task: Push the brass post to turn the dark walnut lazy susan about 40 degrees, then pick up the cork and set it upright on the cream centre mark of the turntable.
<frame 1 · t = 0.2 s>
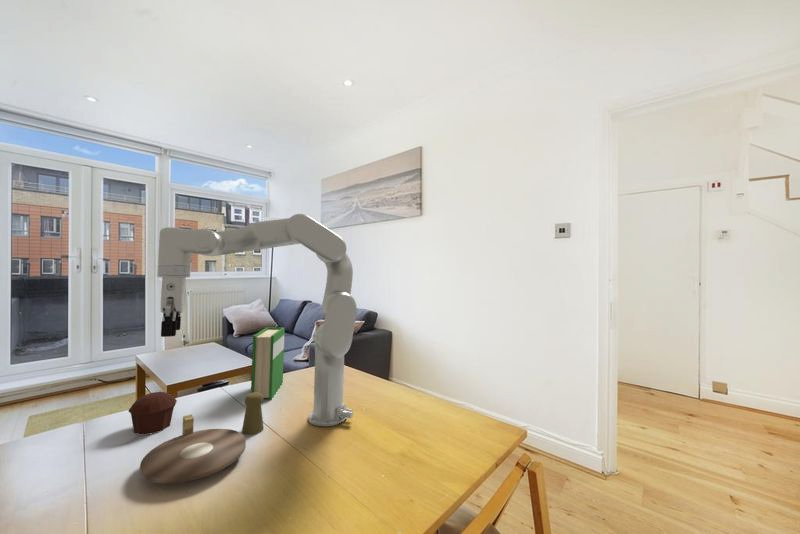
hand: (171, 333, 89), 30 cm above the table, tool pointing down, fingers open, 9 cm apart
hardback book: (267, 392, 127), on the table
muffin: (152, 428, 96), on the table
cork: (252, 430, 96), on the table
turntable: (195, 443, 80), point 5 cm above the table, hinge at 0.0°
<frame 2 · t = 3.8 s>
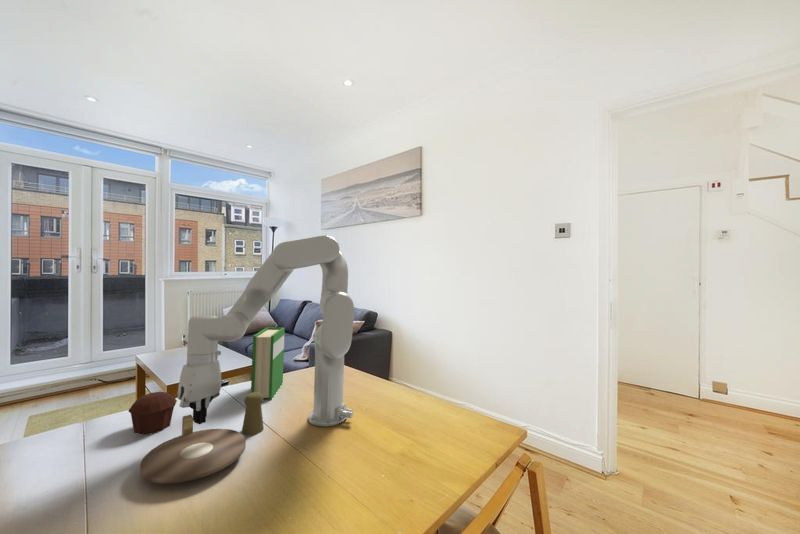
hand: (199, 422, 92), 4 cm above the table, tool pointing down, fingers closed
turntable: (195, 443, 80), point 5 cm above the table, hinge at 0.6°, touching gripper
everything else where it was.
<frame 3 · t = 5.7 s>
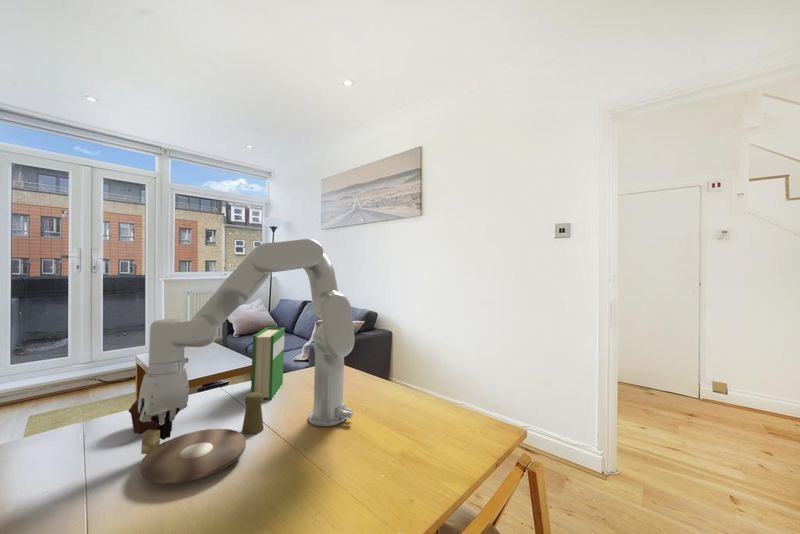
hand: (163, 437, 83), 4 cm above the table, tool pointing down, fingers closed
turntable: (194, 444, 79), point 5 cm above the table, hinge at 44.8°, touching gripper
everything else where it was.
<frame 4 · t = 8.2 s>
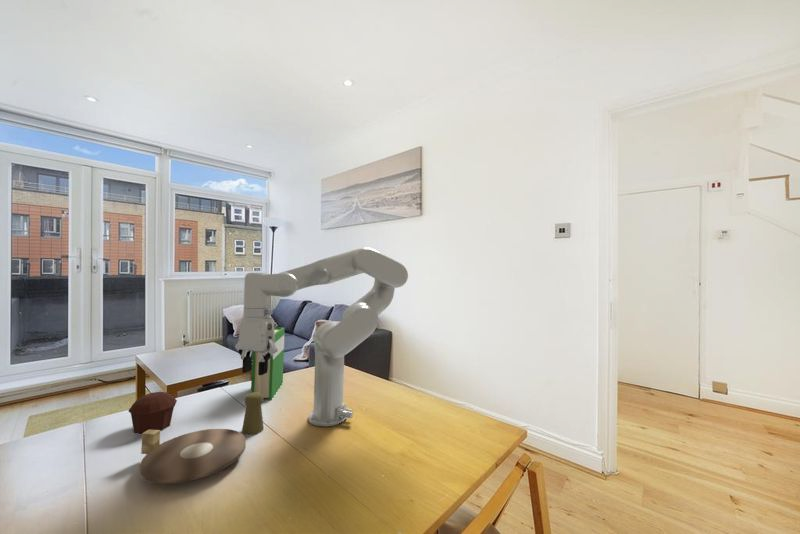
hand: (254, 372, 97), 17 cm above the table, tool pointing down, fingers open, 5 cm apart
turntable: (194, 444, 79), point 5 cm above the table, hinge at 44.8°
everything else where it was.
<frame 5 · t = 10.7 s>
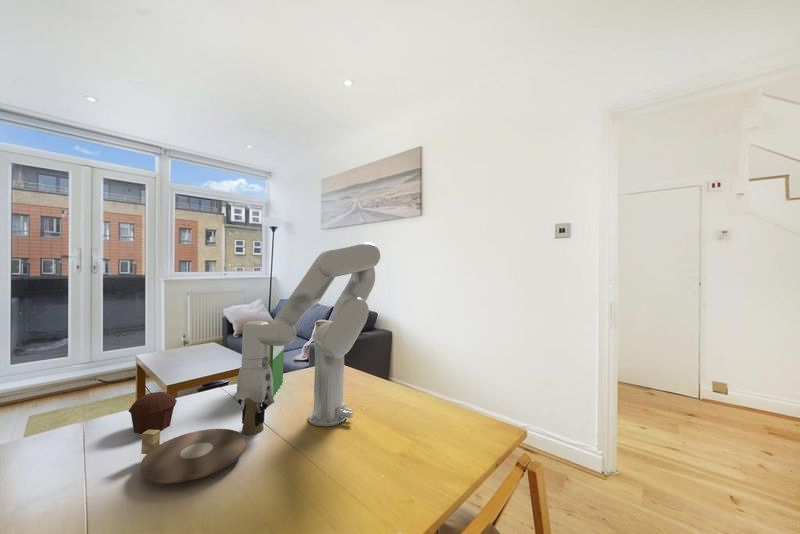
hand: (253, 422, 96), 2 cm above the table, tool pointing down, fingers closed on cork, 4 cm apart
cork: (252, 430, 96), on the table, touching gripper
everything else where it was.
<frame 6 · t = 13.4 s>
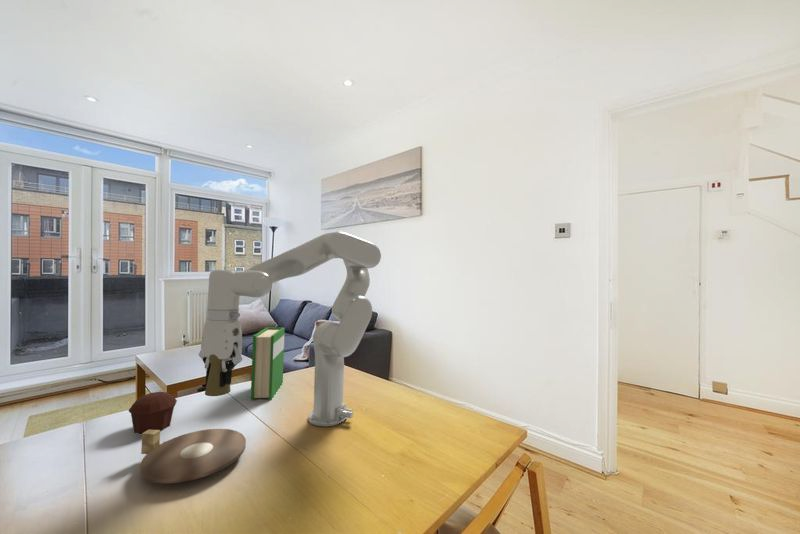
hand: (218, 383, 85), 18 cm above the table, tool pointing down, fingers closed on cork, 4 cm apart
cork: (217, 392, 85), point 15 cm above the table, touching gripper
everything else where it was.
when the fingers open (7 cm above the table, at t = 16.1 s): cork drops 1 cm, resting on turntable.
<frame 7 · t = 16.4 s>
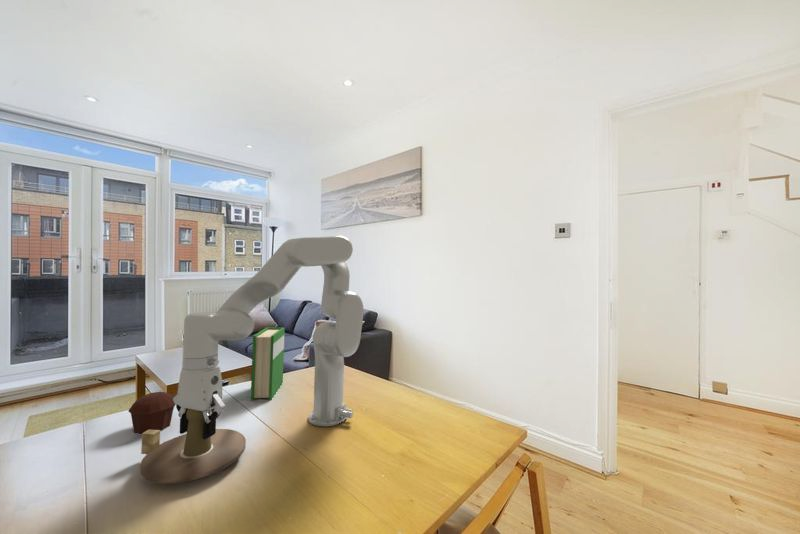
hand: (197, 433, 80), 7 cm above the table, tool pointing down, fingers open, 6 cm apart
cork: (197, 450, 80), point 3 cm above the table, touching turntable
turntable: (194, 444, 79), point 5 cm above the table, hinge at 44.8°, touching cork
everything else where it was.
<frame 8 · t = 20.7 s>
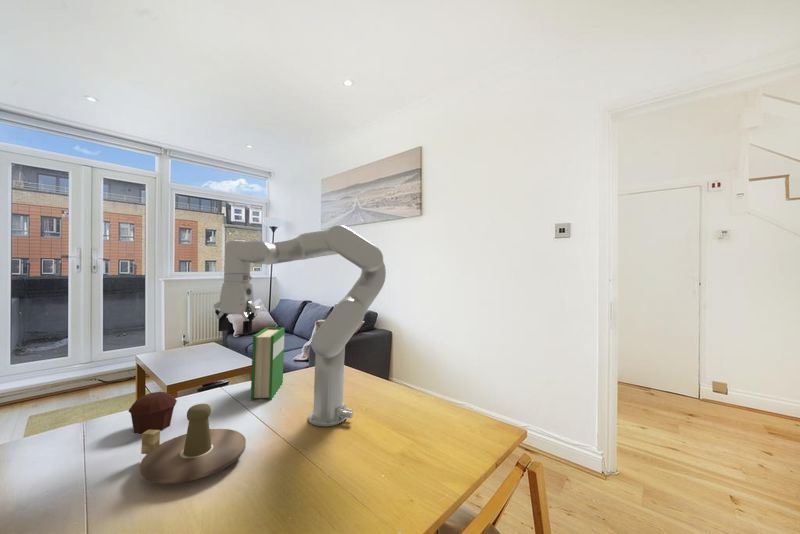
hand: (235, 331, 103), 28 cm above the table, tool pointing down, fingers open, 9 cm apart
nothing on the table moved.
at the end: cork 0.2 cm from the turntable (horizontally); cork tilted 0°; turntable at +45° (first picture: +0°) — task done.
